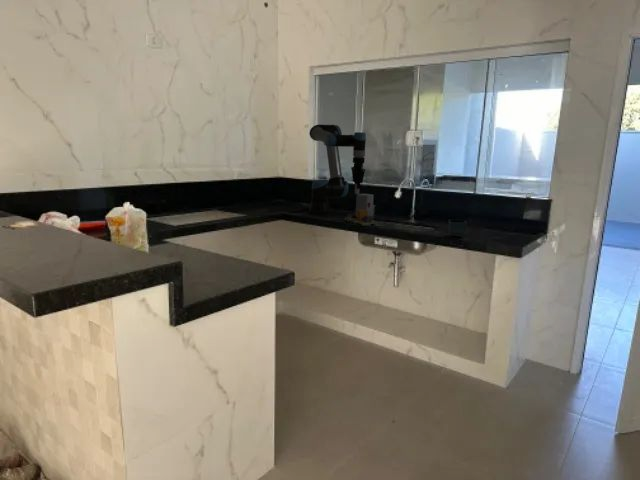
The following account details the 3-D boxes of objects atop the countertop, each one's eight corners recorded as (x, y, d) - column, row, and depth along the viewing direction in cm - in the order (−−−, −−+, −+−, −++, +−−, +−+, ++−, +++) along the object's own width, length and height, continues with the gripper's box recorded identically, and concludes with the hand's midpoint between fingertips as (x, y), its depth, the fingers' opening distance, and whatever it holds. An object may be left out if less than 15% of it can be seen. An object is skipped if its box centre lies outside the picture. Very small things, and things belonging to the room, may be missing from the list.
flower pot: (446, 234, 261) (448, 219, 259) (462, 235, 260) (464, 219, 258) (449, 237, 252) (450, 222, 250) (465, 238, 251) (467, 222, 249)
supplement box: (366, 217, 309) (367, 195, 305) (355, 215, 314) (356, 194, 310) (373, 215, 316) (374, 194, 312) (362, 214, 321) (363, 193, 317)
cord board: (344, 220, 297) (344, 212, 296) (359, 218, 303) (359, 211, 302) (363, 225, 280) (363, 217, 279) (378, 224, 286) (378, 216, 285)
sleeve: (356, 219, 291) (356, 210, 289) (363, 218, 294) (364, 209, 292) (359, 220, 288) (360, 211, 286) (367, 219, 291) (367, 210, 289)
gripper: (348, 156, 292) (346, 192, 298) (360, 157, 282) (358, 195, 288) (357, 156, 296) (355, 191, 302) (369, 157, 286) (367, 194, 292)
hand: (356, 193), depth 295 cm, fingers closed
